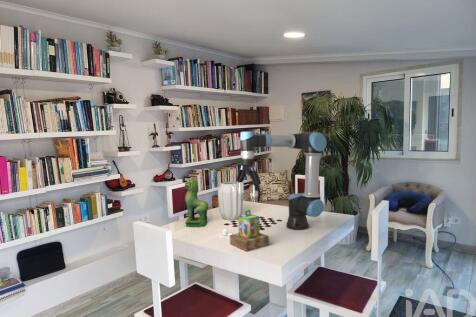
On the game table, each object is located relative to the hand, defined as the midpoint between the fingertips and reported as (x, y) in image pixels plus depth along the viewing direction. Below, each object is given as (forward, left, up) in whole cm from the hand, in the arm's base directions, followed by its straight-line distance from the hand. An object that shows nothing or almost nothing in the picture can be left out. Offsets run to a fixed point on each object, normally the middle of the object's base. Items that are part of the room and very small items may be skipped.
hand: (248, 194), depth 193 cm
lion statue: (+3, -58, -30) cm, 65 cm away
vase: (-26, -57, -30) cm, 69 cm away
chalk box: (0, 0, -24) cm, 24 cm away
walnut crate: (0, 0, -30) cm, 30 cm away
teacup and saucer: (+2, -21, -30) cm, 37 cm away
